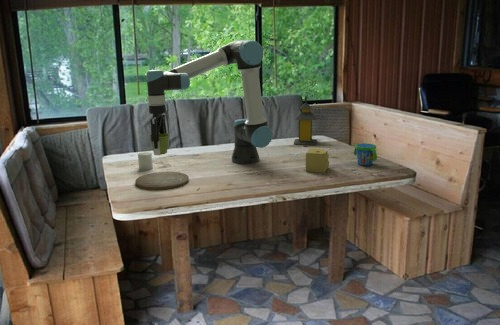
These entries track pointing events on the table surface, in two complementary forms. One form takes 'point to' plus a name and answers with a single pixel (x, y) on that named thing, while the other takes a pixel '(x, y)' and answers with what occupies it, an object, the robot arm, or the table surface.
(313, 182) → the table surface
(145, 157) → the grey small cylinder
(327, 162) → the cheese
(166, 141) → the plant pot
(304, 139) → the lantern
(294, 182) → the table surface
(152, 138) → the robot arm
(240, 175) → the table surface
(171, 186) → the trivet
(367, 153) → the snack cup
